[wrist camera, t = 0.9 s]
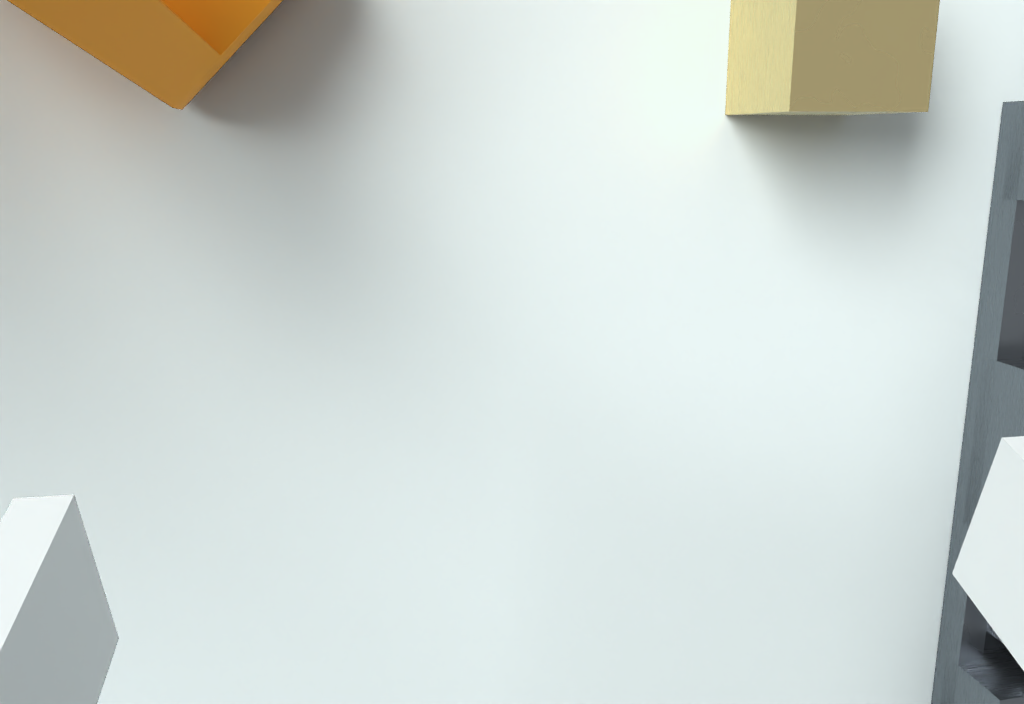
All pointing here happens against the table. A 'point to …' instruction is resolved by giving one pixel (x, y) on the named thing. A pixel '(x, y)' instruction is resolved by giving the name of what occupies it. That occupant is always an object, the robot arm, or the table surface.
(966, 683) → the grey stepped block holder
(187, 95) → the bracket
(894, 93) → the sand colored cube
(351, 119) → the table surface
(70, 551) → the robot arm
